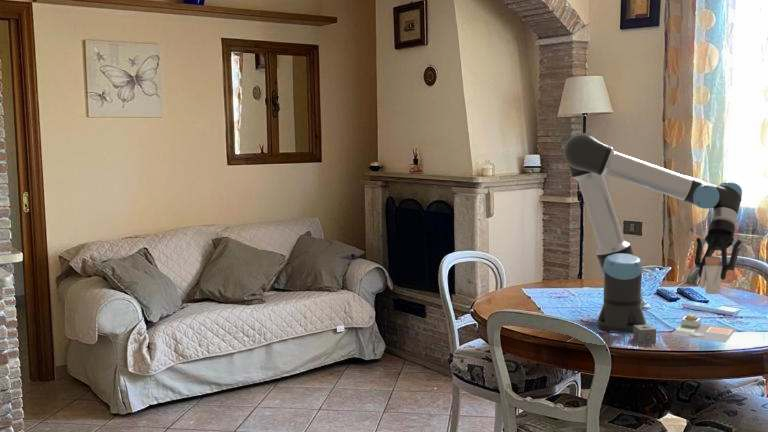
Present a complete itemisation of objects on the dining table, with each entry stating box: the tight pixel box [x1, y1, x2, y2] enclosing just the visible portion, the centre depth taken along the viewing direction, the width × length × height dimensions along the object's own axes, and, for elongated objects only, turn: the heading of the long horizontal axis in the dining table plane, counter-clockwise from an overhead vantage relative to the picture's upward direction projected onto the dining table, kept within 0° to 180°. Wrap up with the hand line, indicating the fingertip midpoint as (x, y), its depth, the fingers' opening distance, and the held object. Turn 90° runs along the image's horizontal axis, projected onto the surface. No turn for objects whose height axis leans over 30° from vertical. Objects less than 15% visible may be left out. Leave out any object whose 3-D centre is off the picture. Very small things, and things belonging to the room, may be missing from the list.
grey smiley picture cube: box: [632, 324, 657, 344], centre depth 230 cm, size 5×5×5 cm
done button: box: [686, 314, 697, 321], centre depth 245 cm, size 3×3×2 cm
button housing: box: [680, 315, 701, 328], centre depth 245 cm, size 5×5×2 cm
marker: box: [704, 255, 721, 295], centre depth 234 cm, size 4×4×11 cm
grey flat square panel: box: [670, 323, 737, 344], centre depth 238 cm, size 16×17×1 cm
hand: (709, 286), depth 231 cm, fingers closed on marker, 4 cm apart
